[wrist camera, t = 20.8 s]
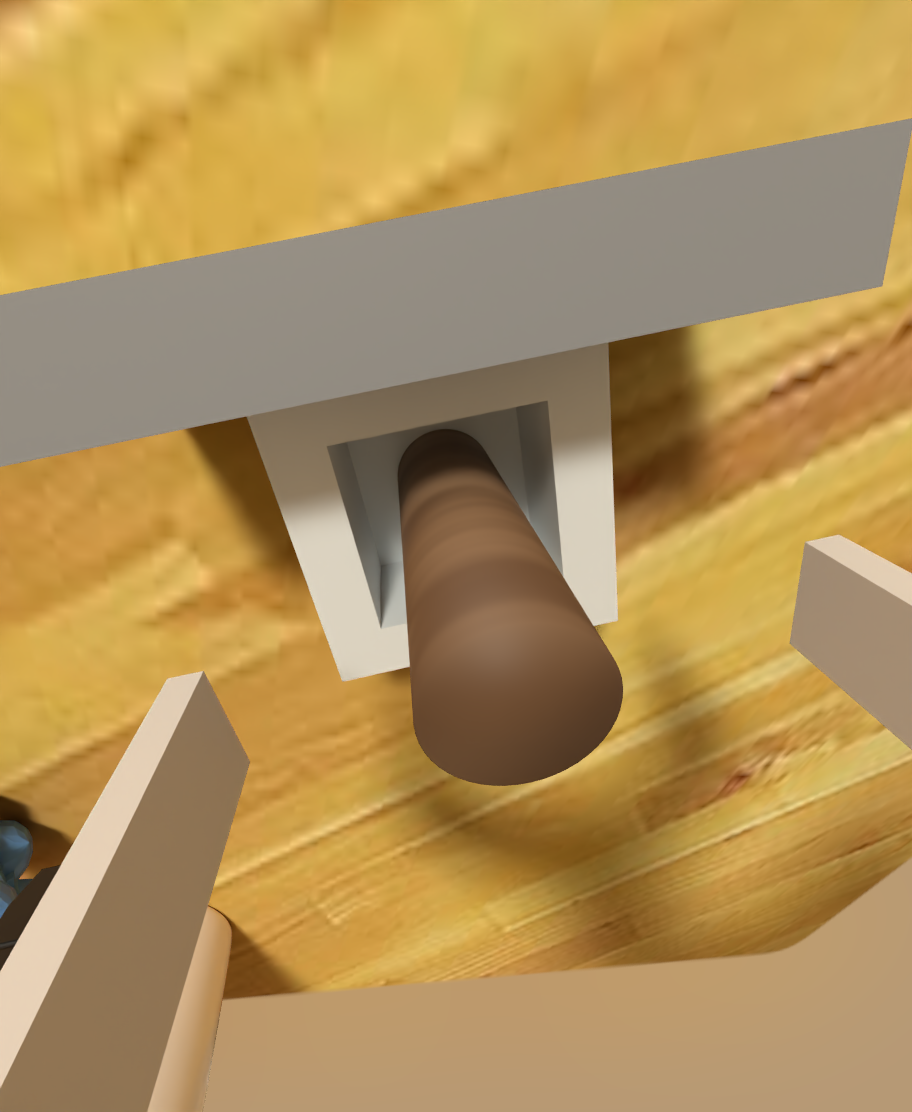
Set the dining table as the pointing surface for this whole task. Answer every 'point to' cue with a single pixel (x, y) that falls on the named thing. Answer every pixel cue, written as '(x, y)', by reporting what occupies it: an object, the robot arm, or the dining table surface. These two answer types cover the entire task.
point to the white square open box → (373, 499)
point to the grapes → (13, 860)
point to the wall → (444, 291)
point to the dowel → (493, 626)
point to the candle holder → (195, 1022)
